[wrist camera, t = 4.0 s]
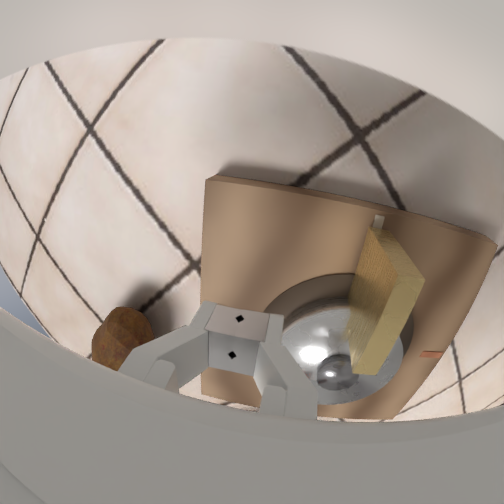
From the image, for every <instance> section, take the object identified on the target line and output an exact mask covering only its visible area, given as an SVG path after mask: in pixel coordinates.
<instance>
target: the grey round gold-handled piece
mask: <svg viewBox="0 0 504 504" xmlns="http://www.w3.org/2000/svg"><path fill="white" fill-rule="evenodd" d="M424 282H425V279H424V277H423V276H422V274H421V273H420V272H419V270H418V269H417V267H416V266H415V264H414V263H413V262H412V260H411V259H410V258H409V256H408V255H407V253H406V252H405V251H404V249H403V248H402V247H401V245H400V244H399V243H398V242H397V240H396V239H395V238H394V236H393V235H392V234H391V233H390V231H387V230H383V229H378V228H374V227H369V228H368V232H367V235H366V239H365V242H364V246H363V249H362V253H361V256H360V259H359V263H358V266H357V269H356V272H355V275H354V278H353V281H352V285H351V287H350V290H349V293H348V296H347V297H332V298H326V299H321V300H318V301H315V302H312V303H309V304H307V305H305V306H303V307H301V308H299V309H298V310H296V311H294V312H293V313H292V314H291V315H289V316H288V317H287V318H286V319H285V320H284V324H283V332H282V340H281V345H282V346H285V347H286V348H287V350H288V351H289V352H290V354H291V355H292V357H293V358H294V359H295V361H296V362H297V364H298V365H299V366H300V368H301V369H302V370H303V372H304V373H305V375H306V376H307V377H308V379H309V380H310V381H311V383H312V384H313V386H314V387H315V388H316V390H317V391H318V397H317V404H321V405H336V404H344V403H349V402H353V401H357V400H360V399H362V398H365V397H367V396H369V395H371V394H373V393H375V392H377V391H378V390H380V389H381V388H382V387H384V386H385V385H386V384H387V383H388V382H389V381H390V380H391V379H392V378H393V377H394V375H395V374H396V373H397V371H398V369H399V368H400V365H401V362H402V358H403V345H402V342H401V339H400V336H399V335H400V333H401V331H402V329H403V327H404V325H405V323H406V321H407V319H408V317H409V315H410V313H411V311H412V309H413V307H414V305H415V302H416V300H417V298H418V296H419V294H420V291H421V289H422V287H423V284H424Z"/></svg>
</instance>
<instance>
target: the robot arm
mask: <svg viewBox="0 0 504 504" xmlns="http://www.w3.org/2000/svg"><path fill="white" fill-rule="evenodd" d="M269 316H270V317H269ZM283 324H284V315H279V314H272V313H270V314H269V313H263V312H258V311H252V310H247V309H243V308H238V307H234V306H229V305H225V304H220V303H215V302H211V301H206V300H205V301H203V302H202V304H201V306H200V307H199V309H198V311H197V313H196V315H195V316H194V318H193V320H192V322H191V324H190V325H189V326H186V325H185V326H183V327H181V328H179V329H176V330H174V331H172V332H170V333H168V334H165V335H163V336H161V337H159V338H157V339H154V340H152V341H150V342H148V343H145V344H143V345H141V346H138V347H136V348H134V349H133V350H132V351H131V353H130V354H129V355H128V357H127V358H126V360H125V361H124V363H123V364H122V365H121V367H120V368H119V370H118V371H115V370H112V369H110V368H108V367H105V366H103V365H101V364H99V363H97V362H94V361H92V360H90V359H88V358H86V357H84V356H82V355H80V354H78V353H76V352H74V351H72V350H70V349H68V348H66V347H64V346H62V345H60V344H59V343H57V342H55V341H53V340H51V339H50V338H48V337H46V336H44V335H43V334H41V333H39V332H38V331H36V330H34V329H33V328H31V327H30V326H28V325H26V324H25V323H23V322H22V321H20V320H19V319H17V318H16V317H14V316H13V315H11V314H10V313H8V312H7V311H6V310H4V309H3V308H1V307H0V504H504V404H503V405H501V406H497V407H493V408H489V409H485V410H481V411H476V412H471V413H466V414H461V415H455V416H448V417H441V418H433V419H424V420H413V421H397V422H339V421H322V420H317V397H318V391H317V390H316V388H315V387H314V386H313V384H312V383H311V381H310V380H309V379H308V377H307V376H306V375H305V373H304V372H303V370H302V369H301V368H300V366H299V365H298V364H297V362H296V361H295V359H294V358H293V357H292V355H291V354H290V352H289V351H288V350H287V348H286V347H285V346H282V345H281V340H282V332H283ZM266 332H267V333H266ZM208 367H212V368H217V369H222V370H227V371H232V372H236V373H240V374H244V375H249V376H254V377H253V378H254V380H255V382H256V385H257V387H258V389H259V391H260V394H261V396H262V398H261V402H260V406H259V410H258V412H253V411H247V410H242V409H237V408H233V407H228V406H224V405H219V404H215V403H211V402H207V401H203V400H200V399H196V398H192V397H189V396H185V395H182V394H179V388H181V387H182V386H184V385H185V384H186V383H188V382H189V381H191V380H192V379H193V378H195V377H196V376H198V375H199V374H200V373H202V372H203V371H204V370H206V369H207V368H208Z"/></svg>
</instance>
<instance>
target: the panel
mask: <svg viewBox="0 0 504 504" xmlns="http://www.w3.org/2000/svg"><path fill="white" fill-rule="evenodd" d="M369 227H374V228H378V229H383V230H387V231H390V233H391V234H392V235H393V236H394V238H395V239H396V240H397V242H398V243H399V244H400V245H401V247H402V248H403V249H404V251H405V252H406V253H407V255H408V256H409V258H410V259H411V260H412V262H413V263H414V264H415V266H416V267H417V269H418V270H419V272H420V273H421V274H422V276H423V277H424V279H425V282H424V284H423V287H422V289H421V291H420V294H419V296H418V298H417V300H416V302H415V305H414V307H413V309H412V311H411V313H410V315H409V317H408V319H407V321H406V323H405V325H404V327H403V329H402V331H401V333H400V335H399V336H400V339H401V342H402V345H403V358H402V362H401V365H400V368H399V369H398V371H397V373H396V374H395V375H394V377H393V378H392V379H391V380H390V381H389V382H388V383H387V384H386V385H385V386H384V387H382V388H381V389H380V390H378V391H377V392H375V393H373V394H371V395H369V396H367V397H365V398H362V399H360V400H357V401H353V402H349V403H344V404H336V405H321V404H317V416H321V417H332V418H347V419H393V418H394V417H395V416H396V415H397V414H398V413H399V411H400V410H401V409H402V408H403V407H404V406H405V405H406V403H407V402H408V401H409V400H410V399H411V397H412V396H413V395H414V394H415V392H416V391H417V390H418V389H419V387H420V386H421V385H422V384H423V382H424V381H425V380H426V378H427V377H428V376H429V374H430V373H431V371H432V370H433V369H434V367H435V366H436V364H437V363H438V361H439V360H440V359H441V357H442V356H443V354H444V353H445V351H446V349H447V348H448V346H449V345H450V343H451V342H452V340H453V338H454V337H455V335H456V333H457V332H458V330H459V328H460V326H461V325H462V323H463V321H464V319H465V318H466V316H467V314H468V312H469V310H470V308H471V306H472V304H473V302H474V300H475V298H476V296H477V294H478V292H479V290H480V288H481V286H482V283H483V281H484V279H485V277H486V274H487V272H488V270H489V267H490V265H491V262H492V260H493V257H494V255H495V252H496V249H497V246H498V245H497V244H496V243H494V242H493V241H492V240H491V239H489V238H488V237H487V236H485V235H482V234H479V233H476V232H473V231H470V230H467V229H464V228H461V227H458V226H455V225H452V224H449V223H446V222H442V221H439V220H436V219H432V218H429V217H425V216H422V215H418V214H415V213H411V212H407V211H404V210H400V209H396V208H392V207H388V206H384V205H380V204H376V203H372V202H367V201H363V200H359V199H354V198H350V197H345V196H340V195H336V194H331V193H326V192H321V191H316V190H310V189H305V188H300V187H294V186H288V185H282V184H276V183H270V182H264V181H257V180H250V179H243V178H236V177H228V176H220V175H214V176H212V177H210V178H208V179H206V181H205V196H204V212H203V231H202V255H201V293H200V306H201V304H202V302H203V301H205V300H206V301H211V302H215V303H220V304H225V305H229V306H234V307H238V308H243V309H247V310H252V311H258V312H263V313H269V314H270V313H272V314H279V315H284V320H285V319H286V318H287V317H288V316H289V315H291V314H292V313H293V312H294V311H296V310H298V309H299V308H301V307H303V306H305V305H307V304H309V303H312V302H315V301H318V300H321V299H326V298H332V297H347V296H348V293H349V290H350V287H351V285H352V281H353V278H354V275H355V272H356V269H357V266H358V263H359V259H360V256H361V253H362V249H363V246H364V242H365V239H366V235H367V232H368V228H369ZM269 317H270V316H269ZM266 333H267V332H266ZM253 377H254V376H249V375H244V374H240V373H236V372H232V371H227V370H222V369H217V368H212V367H208V368H207V369H206V370H204V371H203V372H202V373H201V393H202V394H203V395H207V396H210V397H214V398H218V399H222V400H226V401H230V402H235V403H239V404H244V405H248V406H253V407H258V408H259V406H260V402H261V398H262V396H261V394H260V391H259V389H258V387H257V385H256V382H255V380H254V378H253Z"/></svg>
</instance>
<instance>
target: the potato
mask: <svg viewBox="0 0 504 504" xmlns="http://www.w3.org/2000/svg"><path fill="white" fill-rule="evenodd" d="M152 340H154V335H153V332H152V328H151V325H150V323H149V321H148V319H147V318H146V317H145V316H144V315H143V314H142V313H141V312H139V311H137V310H135V309H133V308H129V307H116V308H115V309H114V310H112V311H111V312H110V314H109V315H108V316H107V317H106V319H105V321H104V322H103V324H102V325H101V326H100V327H99V328H98V329H97V330H96V332H95V334H94V336H93V339H92V361H94V362H97V363H99V364H101V365H103V366H105V367H108V368H110V369H112V370H115V371H118V370H119V368H120V367H121V365H122V364H123V363H124V361H125V360H126V358H127V357H128V355H129V354H130V353H131V351H132V350H133V349H134V348H136V347H138V346H141V345H143V344H145V343H148V342H150V341H152Z"/></svg>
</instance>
